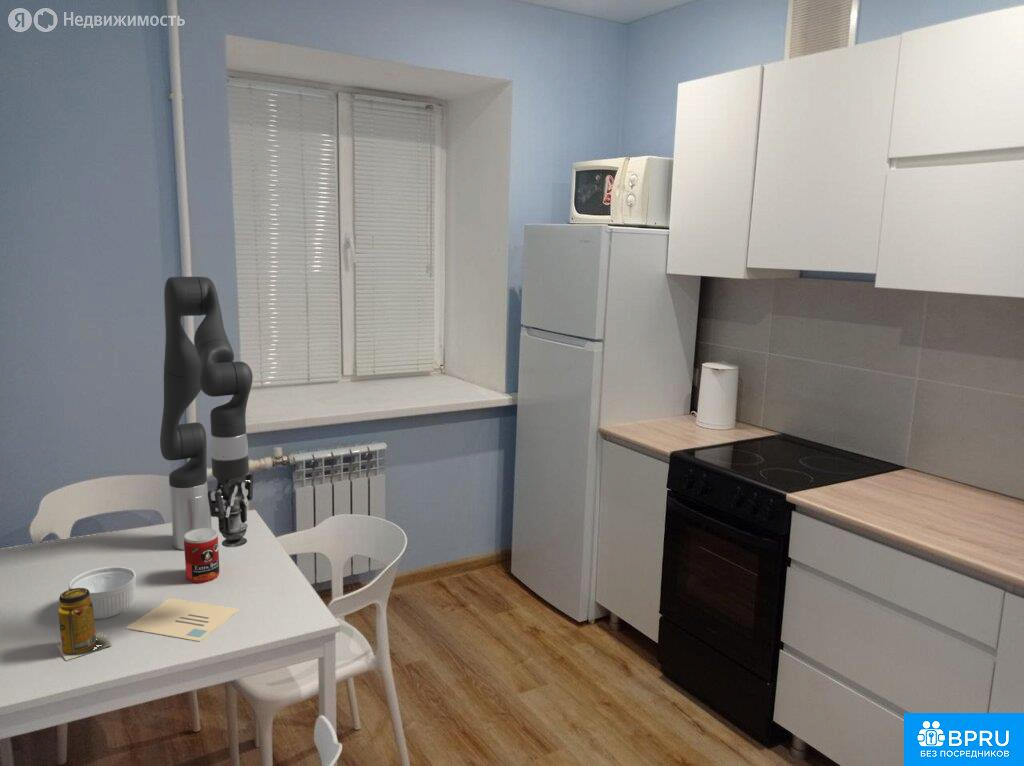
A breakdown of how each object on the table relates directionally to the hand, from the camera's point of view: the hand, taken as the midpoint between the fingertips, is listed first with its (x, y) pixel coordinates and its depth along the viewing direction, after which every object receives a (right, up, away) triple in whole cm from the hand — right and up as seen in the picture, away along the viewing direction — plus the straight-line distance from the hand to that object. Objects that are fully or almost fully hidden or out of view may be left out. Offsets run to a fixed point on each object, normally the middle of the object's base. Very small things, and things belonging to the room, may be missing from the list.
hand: (233, 526), depth 165 cm
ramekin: (-30, -19, +3) cm, 36 cm away
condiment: (-26, -22, -12) cm, 36 cm away
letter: (-10, -20, -1) cm, 23 cm away
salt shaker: (0, -4, +1) cm, 4 cm away
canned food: (-15, -16, +19) cm, 29 cm away
